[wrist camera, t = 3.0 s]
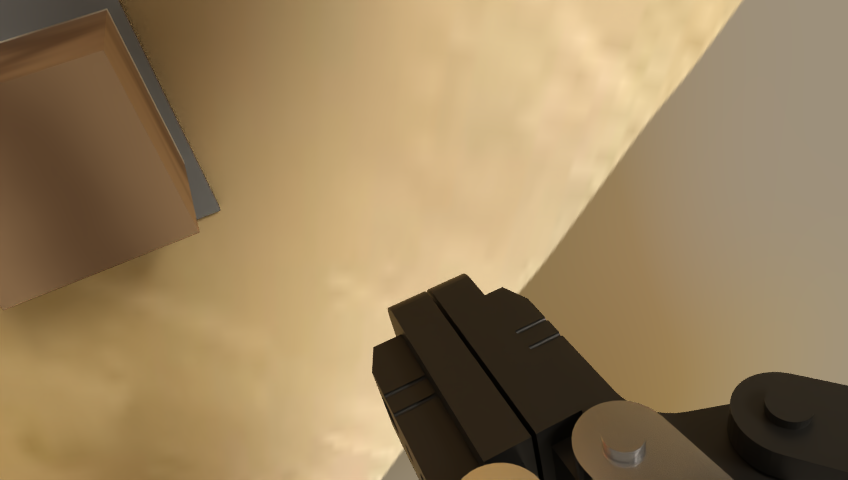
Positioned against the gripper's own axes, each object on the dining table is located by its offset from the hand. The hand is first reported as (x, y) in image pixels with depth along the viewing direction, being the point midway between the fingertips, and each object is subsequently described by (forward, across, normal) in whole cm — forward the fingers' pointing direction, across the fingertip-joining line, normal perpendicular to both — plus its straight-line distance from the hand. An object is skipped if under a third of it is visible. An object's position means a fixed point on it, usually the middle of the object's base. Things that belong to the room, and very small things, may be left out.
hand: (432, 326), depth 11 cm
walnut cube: (+20, +8, 0) cm, 22 cm away
